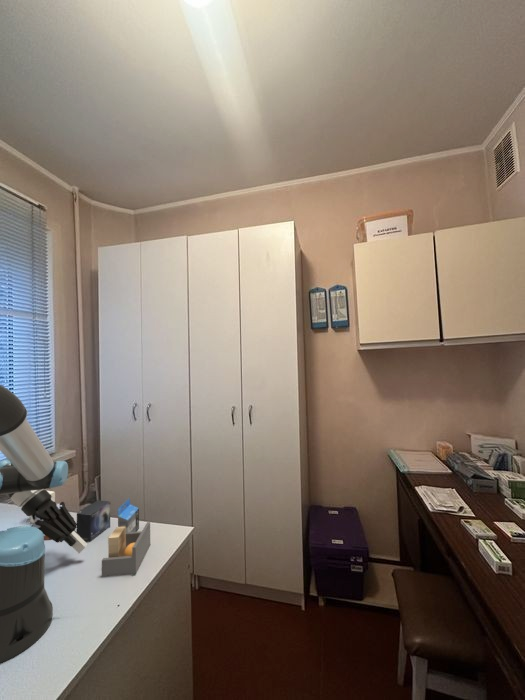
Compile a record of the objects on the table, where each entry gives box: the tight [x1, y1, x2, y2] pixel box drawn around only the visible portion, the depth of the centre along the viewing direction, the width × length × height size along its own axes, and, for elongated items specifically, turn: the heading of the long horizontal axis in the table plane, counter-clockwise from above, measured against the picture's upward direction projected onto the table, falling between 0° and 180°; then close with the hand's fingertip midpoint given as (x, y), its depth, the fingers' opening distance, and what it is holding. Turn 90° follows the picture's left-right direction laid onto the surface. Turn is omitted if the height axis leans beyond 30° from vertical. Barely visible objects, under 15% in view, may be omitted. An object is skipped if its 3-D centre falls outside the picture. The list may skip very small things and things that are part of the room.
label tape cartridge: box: [117, 497, 140, 532], centre depth 107 cm, size 9×4×12 cm, turn 178°
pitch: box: [101, 521, 151, 578], centre depth 93 cm, size 15×24×8 cm, turn 95°
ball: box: [124, 543, 135, 556], centre depth 93 cm, size 5×5×5 cm
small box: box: [75, 499, 111, 543], centre depth 109 cm, size 11×6×10 cm, turn 168°
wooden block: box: [107, 526, 126, 558], centre depth 93 cm, size 6×3×9 cm, turn 5°
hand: (83, 549), depth 93 cm, fingers closed
